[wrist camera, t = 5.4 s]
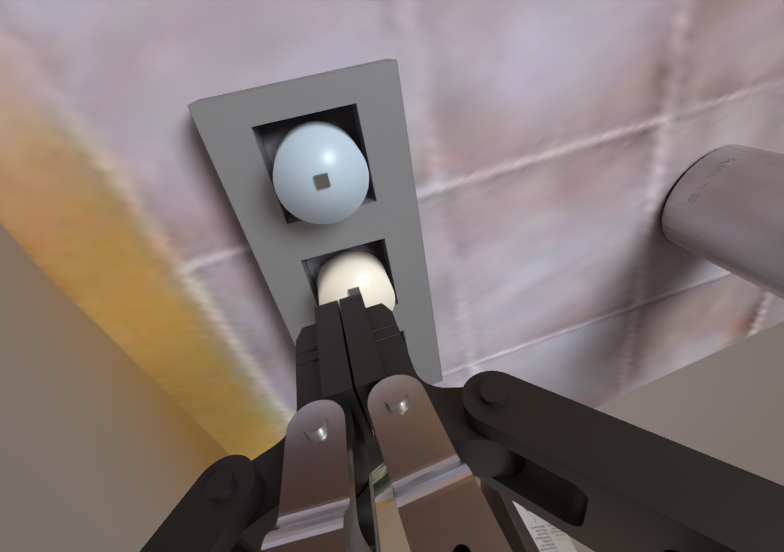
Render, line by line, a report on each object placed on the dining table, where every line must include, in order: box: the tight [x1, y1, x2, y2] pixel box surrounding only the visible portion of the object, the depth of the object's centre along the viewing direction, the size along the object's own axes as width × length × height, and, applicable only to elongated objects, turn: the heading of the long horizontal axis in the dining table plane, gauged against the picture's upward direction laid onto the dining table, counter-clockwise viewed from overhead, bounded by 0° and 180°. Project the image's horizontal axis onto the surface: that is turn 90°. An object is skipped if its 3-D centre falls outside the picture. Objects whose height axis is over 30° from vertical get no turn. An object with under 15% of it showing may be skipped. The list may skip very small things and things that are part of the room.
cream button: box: [317, 250, 395, 311], centre depth 25 cm, size 5×5×3 cm
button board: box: [187, 59, 443, 385], centre depth 27 cm, size 26×11×2 cm, turn 11°
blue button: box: [273, 120, 369, 224], centre depth 20 cm, size 5×5×3 cm
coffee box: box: [474, 477, 577, 552], centre depth 35 cm, size 9×6×16 cm
